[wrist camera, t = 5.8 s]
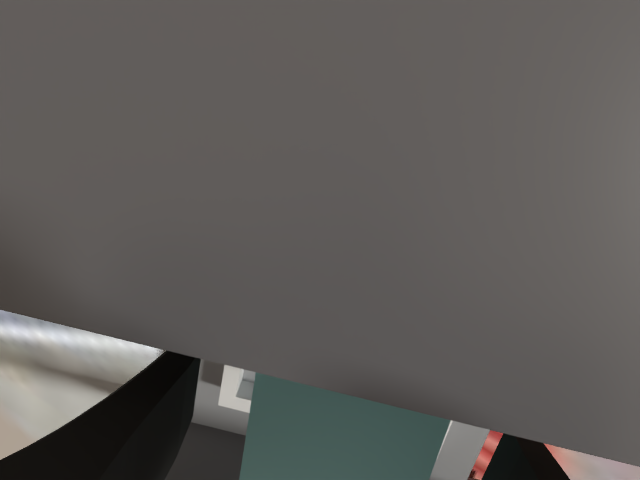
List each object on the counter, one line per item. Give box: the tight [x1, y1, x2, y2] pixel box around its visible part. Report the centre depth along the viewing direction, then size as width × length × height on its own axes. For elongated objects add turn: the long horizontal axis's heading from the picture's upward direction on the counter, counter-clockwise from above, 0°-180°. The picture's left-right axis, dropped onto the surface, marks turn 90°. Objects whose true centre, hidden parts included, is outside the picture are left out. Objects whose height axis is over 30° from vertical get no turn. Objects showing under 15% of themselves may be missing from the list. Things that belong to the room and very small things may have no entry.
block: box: [239, 373, 451, 480], centre depth 14 cm, size 4×4×5 cm
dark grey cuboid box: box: [0, 0, 640, 467], centre depth 10 cm, size 10×13×8 cm
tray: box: [165, 359, 490, 480], centre depth 14 cm, size 10×12×6 cm
